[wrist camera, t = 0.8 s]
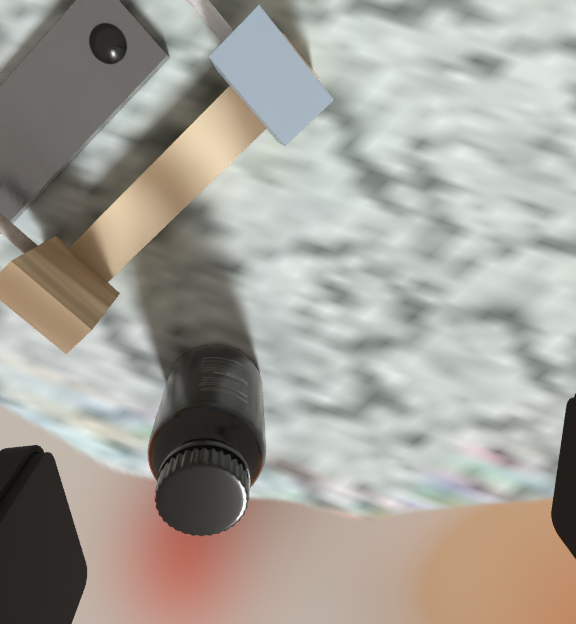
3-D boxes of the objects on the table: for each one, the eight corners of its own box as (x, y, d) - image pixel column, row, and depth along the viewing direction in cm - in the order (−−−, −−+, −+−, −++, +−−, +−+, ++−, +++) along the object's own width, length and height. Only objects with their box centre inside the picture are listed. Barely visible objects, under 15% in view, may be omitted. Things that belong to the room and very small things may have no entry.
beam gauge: (206, -56, 27) (190, -126, 19) (325, 94, 30) (350, 83, 23) (-25, 197, 31) (-114, 220, 23) (101, 308, 34) (60, 360, 26)
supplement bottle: (148, 379, 36) (102, 495, 25) (220, 323, 35) (207, 417, 24) (211, 440, 38) (196, 572, 27) (281, 389, 37) (295, 504, 26)
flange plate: (102, -20, 27) (96, -25, 26) (169, 57, 29) (167, 55, 28) (-66, 171, 30) (-77, 173, 29) (4, 232, 31) (-4, 235, 30)
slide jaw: (189, -56, 25) (172, -106, 20) (317, 104, 28) (333, 99, 23) (147, -10, 26) (121, -47, 20) (278, 142, 29) (285, 145, 23)
